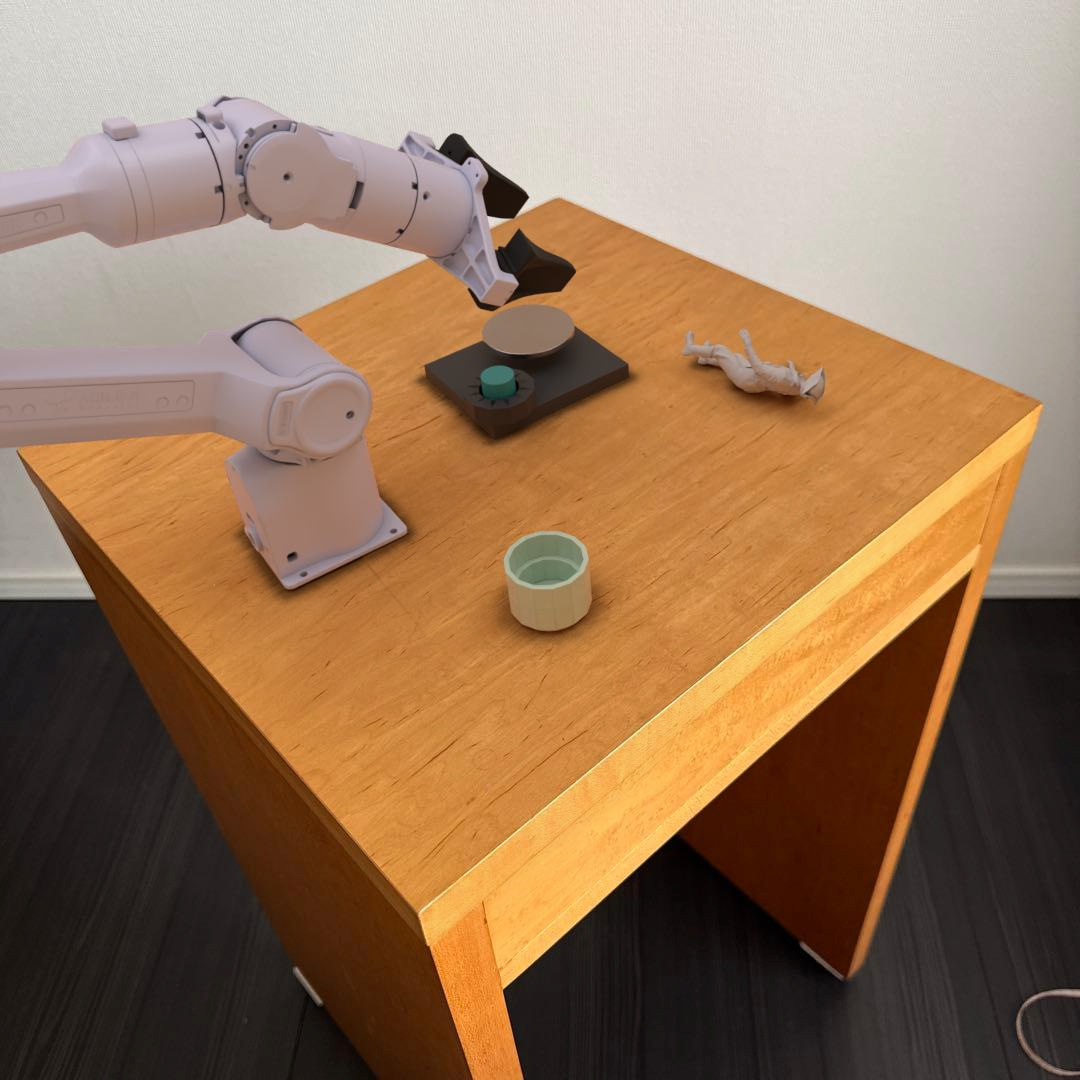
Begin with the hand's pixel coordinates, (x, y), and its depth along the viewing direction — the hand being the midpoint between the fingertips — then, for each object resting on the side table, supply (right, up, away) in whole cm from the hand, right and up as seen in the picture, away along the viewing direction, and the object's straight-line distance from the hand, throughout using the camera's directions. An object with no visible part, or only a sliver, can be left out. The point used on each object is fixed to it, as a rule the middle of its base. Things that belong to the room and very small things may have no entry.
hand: (542, 241), depth 79 cm
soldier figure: (+17, -9, +10) cm, 21 cm away
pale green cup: (+1, -25, -6) cm, 26 cm away
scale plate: (-1, -4, +13) cm, 14 cm away
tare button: (-3, -10, +8) cm, 13 cm away
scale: (-1, -8, +13) cm, 16 cm away
